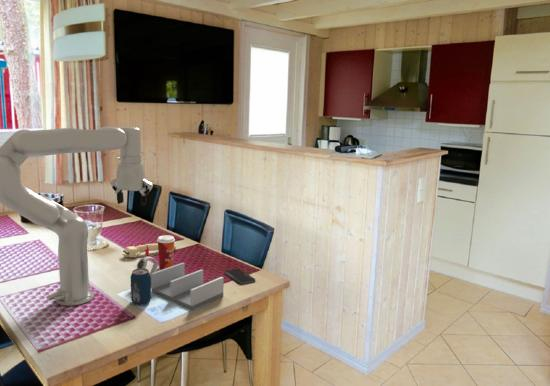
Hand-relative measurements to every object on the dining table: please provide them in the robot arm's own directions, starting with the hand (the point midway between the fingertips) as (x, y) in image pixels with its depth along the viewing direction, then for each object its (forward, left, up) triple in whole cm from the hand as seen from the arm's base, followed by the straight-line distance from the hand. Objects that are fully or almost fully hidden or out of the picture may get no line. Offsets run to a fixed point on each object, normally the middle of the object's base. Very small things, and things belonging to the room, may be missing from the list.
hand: (132, 204), depth 169 cm
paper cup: (+20, +5, -33) cm, 39 cm away
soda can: (-8, -15, -33) cm, 37 cm away
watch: (+4, -3, -33) cm, 34 cm away
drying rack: (+8, -22, -33) cm, 41 cm away
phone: (+34, -26, -34) cm, 55 cm away
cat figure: (+26, +25, -34) cm, 49 cm away
